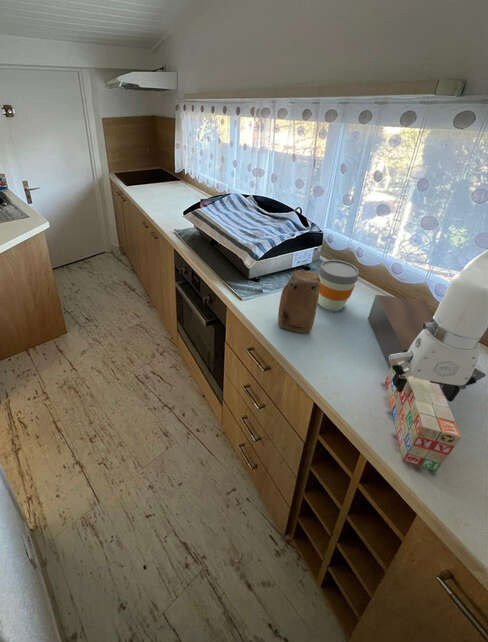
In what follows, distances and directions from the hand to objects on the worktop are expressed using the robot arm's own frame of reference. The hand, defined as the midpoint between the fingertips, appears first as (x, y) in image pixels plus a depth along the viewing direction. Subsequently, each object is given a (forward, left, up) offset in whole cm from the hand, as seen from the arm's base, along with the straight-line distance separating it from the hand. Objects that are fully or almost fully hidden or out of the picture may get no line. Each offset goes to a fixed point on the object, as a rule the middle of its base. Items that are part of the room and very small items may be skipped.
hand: (421, 391), depth 67 cm
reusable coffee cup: (+10, -45, -11) cm, 47 cm away
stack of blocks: (0, 0, -11) cm, 11 cm away
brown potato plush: (+24, -29, -11) cm, 39 cm away
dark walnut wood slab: (-8, -26, -11) cm, 29 cm away
